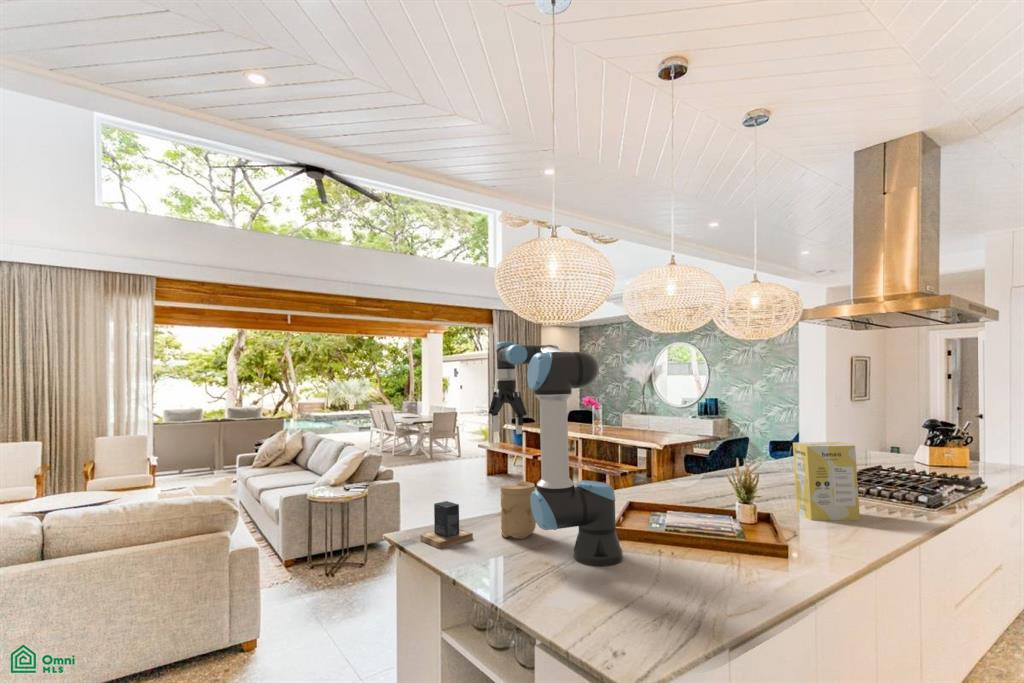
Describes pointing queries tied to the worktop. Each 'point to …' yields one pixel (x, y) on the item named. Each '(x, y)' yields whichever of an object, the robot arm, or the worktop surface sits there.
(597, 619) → the worktop surface
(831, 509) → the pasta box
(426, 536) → the board
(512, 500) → the container
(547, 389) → the robot arm
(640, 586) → the worktop surface
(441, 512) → the box
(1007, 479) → the worktop surface
